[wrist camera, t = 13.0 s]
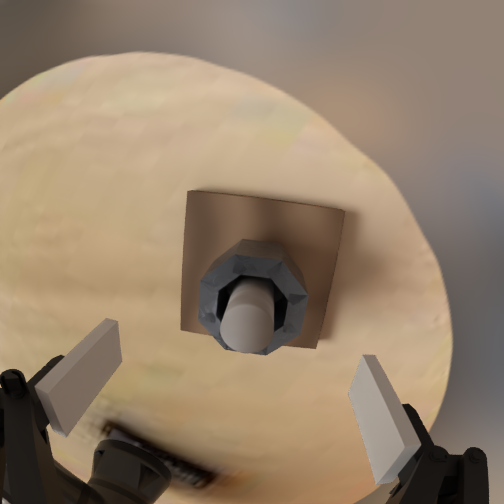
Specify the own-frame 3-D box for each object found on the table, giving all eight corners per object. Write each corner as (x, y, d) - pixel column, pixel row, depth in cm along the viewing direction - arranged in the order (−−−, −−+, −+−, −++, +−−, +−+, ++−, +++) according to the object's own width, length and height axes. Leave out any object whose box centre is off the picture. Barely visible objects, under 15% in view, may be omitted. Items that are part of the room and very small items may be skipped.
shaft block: (184, 323, 30) (145, 391, 19) (192, 190, 26) (138, 200, 15) (314, 341, 29) (330, 418, 18) (341, 209, 26) (386, 232, 15)
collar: (210, 315, 26) (197, 344, 21) (216, 235, 24) (202, 249, 19) (291, 326, 25) (294, 358, 21) (306, 247, 23) (314, 265, 19)
